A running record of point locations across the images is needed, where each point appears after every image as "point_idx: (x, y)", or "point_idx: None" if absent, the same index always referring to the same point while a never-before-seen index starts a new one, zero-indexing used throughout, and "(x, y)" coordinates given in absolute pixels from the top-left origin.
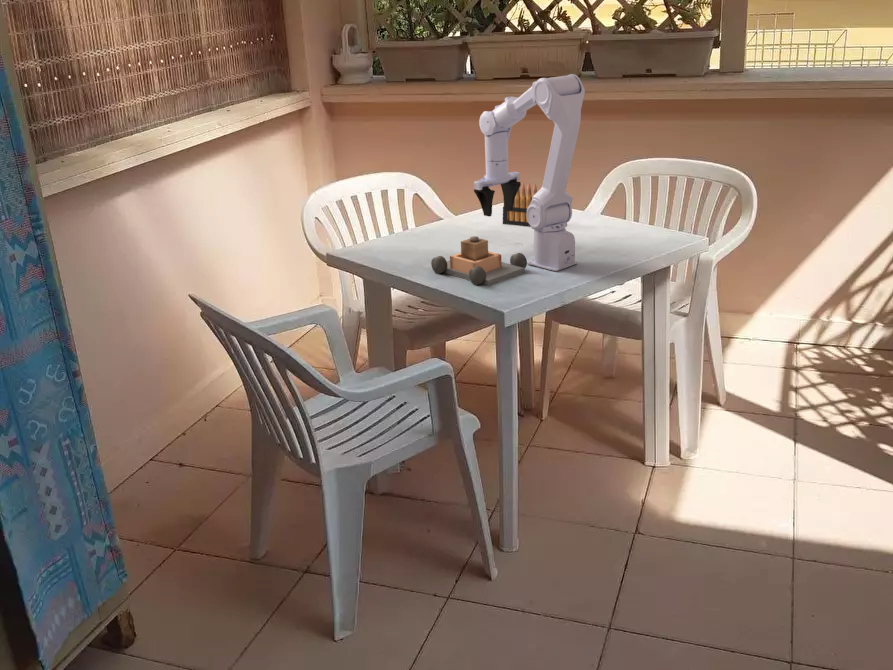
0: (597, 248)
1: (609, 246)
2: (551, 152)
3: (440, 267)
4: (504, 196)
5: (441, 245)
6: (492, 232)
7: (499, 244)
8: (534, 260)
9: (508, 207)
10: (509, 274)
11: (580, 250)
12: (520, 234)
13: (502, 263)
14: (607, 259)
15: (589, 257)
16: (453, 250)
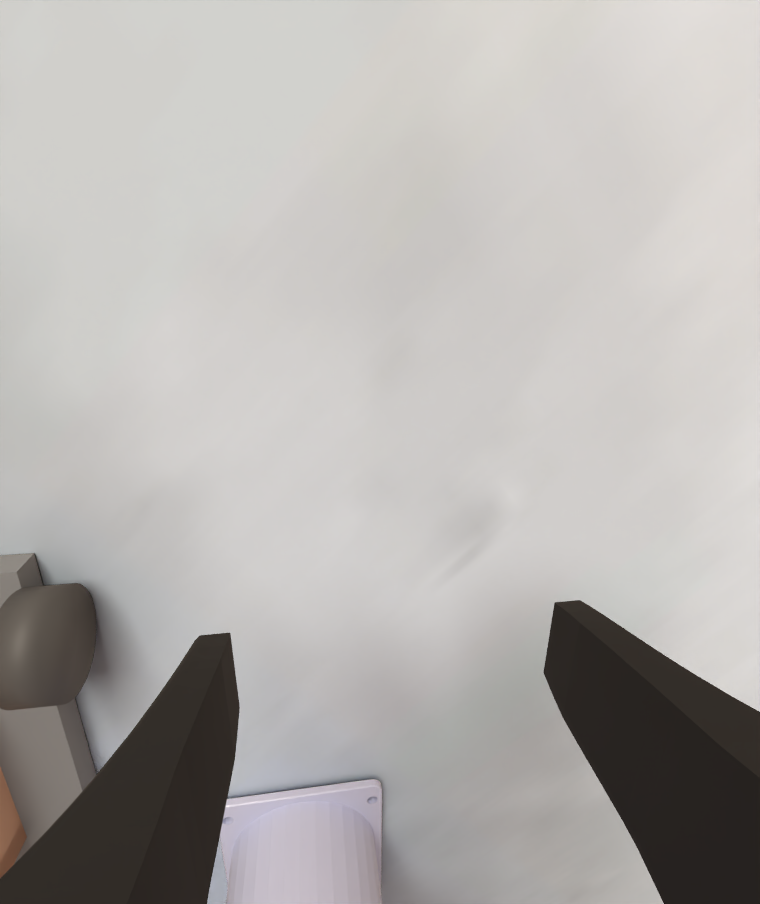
0: (606, 800)
1: None
2: None
3: None
4: (665, 723)
5: (31, 85)
6: (606, 176)
7: (392, 455)
8: (263, 812)
9: (561, 673)
10: None
11: (546, 783)
12: (650, 391)
13: (66, 805)
14: (499, 899)
15: (482, 856)
16: (38, 308)
